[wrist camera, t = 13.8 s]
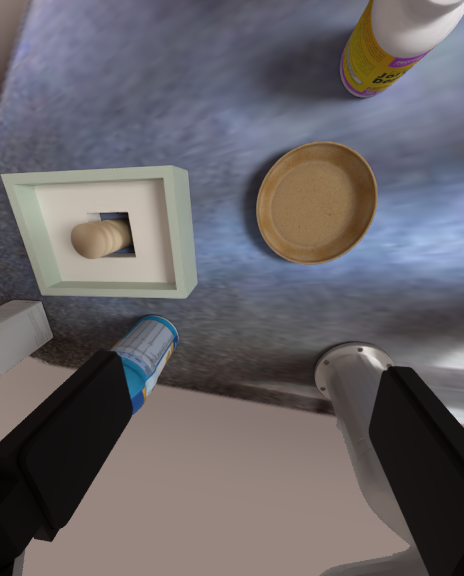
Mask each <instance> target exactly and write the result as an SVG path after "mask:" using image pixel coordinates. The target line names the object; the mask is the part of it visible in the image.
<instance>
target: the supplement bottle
mask: <svg viewBox="0 0 464 576" xmlns="http://www.w3.org/2000/svg"><path fill="white" fill-rule="evenodd" d="M463 14H464V0H370V1H369V3H368V5H367V7H366V9H365V10H364V12H363V14H362V16H361V18H360V19H359V21H358V23H357V25H356V27H355V29H354V30H353V32H352V34H351V36H350V38H349V39H348V41H347V44H346V46H345V48H344V50H343V53H342V57H341V62H340V75H341V79H342V82H343V84H344V86H345V87H346V89H347V90H348V91H349V92H350V93H351V94H353V95H355V96H358V97H372V96H375V95H377V94H379V93H381V92H383V91H384V90H386V89H387V88H388V87H389V86H391V85H392V84H393V83H394V82H395V81H397V80H398V79H399V78H400V77H401V76H402V75H404V74H405V73H406V72H407V71H408V70H409V69H410V68H411V67H412V66H414V65H415V64H416V63H417V62H418V61H419V60H420V59H422V58H423V57H424V56H425V55H426V54H427V53H428V52H430V51H431V50H432V49H433V48H434V47H435V46H437V45H438V44H439V43H440V42H441V41H442V40H443V39H444V38H445V37H446V36H447V35H448V34H449V33H450V32H451V31H452V30H453V29H454V27H455V26H456V25H457V23H458V22H459V20H460V19H461V17H462V16H463Z"/></svg>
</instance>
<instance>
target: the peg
mask: <svg viewBox="0 0 464 576" xmlns="http://www.w3.org/2000/svg"><path fill="white" fill-rule="evenodd" d="M71 242H72V245H73V247H74V249H75V250H76V252H77V253H78V254H80V255H81V256H82V257H84V258H87V259H96V258H99V257H102V256H104V255H107V254H110V253H112V252H115V251H118V250H121V249H123V248H126V247H129V246H131V245H132V244H134V242H133V237H132V231H131V225H130V221H128V220H126V219H124V218H117V219H110V220H103V221H97V222H90V223H83V224H78V225H76V226H75V227H74V228H73V230H72V232H71Z"/></svg>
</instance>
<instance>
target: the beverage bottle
mask: <svg viewBox="0 0 464 576" xmlns="http://www.w3.org/2000/svg"><path fill="white" fill-rule="evenodd" d="M177 345H178V333H177V330H176V328H175V327H174V325H173V324H172V323H171V322H170V321H168V320H167V319H165V318H163V317H160V316H155V315H150V316H146V317H143V318H142V319H140V320H139V321H138V322H137V323H136V324H135V325H134V326H133V327H132V328H131V329H130V330H129V331H128V332H127V333H126V334H125V335H124V336H123V337H122V338H121V339H120V340H119V341H118V342H117V343H116V344H115V345H114V346H113V347H112V348H111V349H109V350H108V351H116V352H117V354H118V355H120V356H121V359H122V363H123V367H124V371H125V376H126V380H127V384H128V388H129V393H130V397H131V401H132V405H133V414H134V413H135V412H137V411H138V410H139V409H140V408H141V407H142V405H143V404H144V402H145V399H146V396H148V395H149V394H150V393H151V391H152V390H153V388H154V387H155V385H156V382H157V378H158V376H159V375H160V373H161V371H162V369H163V368H164V366H165V364H166V362H167V361H168V359H169V357H170V356H171V354H172V353H173V352H174V350H175V349H176V347H177ZM133 414H132V415H133Z"/></svg>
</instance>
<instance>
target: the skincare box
mask: <svg viewBox="0 0 464 576" xmlns="http://www.w3.org/2000/svg"><path fill="white" fill-rule="evenodd" d="M52 338H53V334H52V332H51V329H50V326H49V323H48V320H47V317H46V314H45V311H44V308H43V305H42V302H41V301H27V300H12V301H10V302H8V303H6V304H3V305H1V306H0V376H1V375H3V374H4V373H5V372H7V371H8V370H9V369H11V368H12V367H14V366H15V365H16V364H18V363H19V362H20V361H22V360H23V359H24V358H26V357H27V356H29V355H30V354H31V353H33V352H34V351H35V350H37V349H38V348H40V347H41V346H42V345H44V344H45V343H46V342H48V341H49V340H51V339H52Z"/></svg>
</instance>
